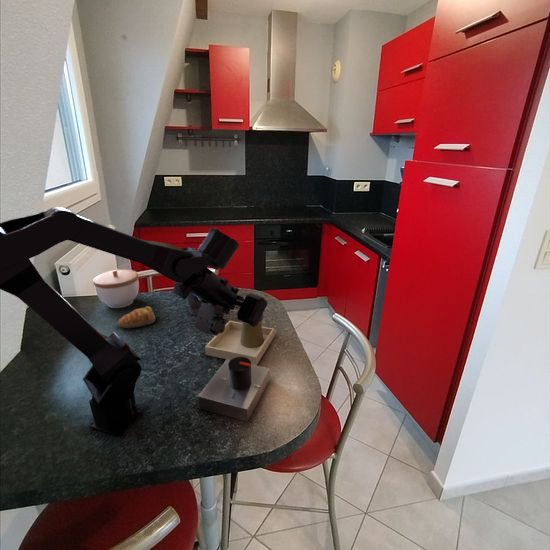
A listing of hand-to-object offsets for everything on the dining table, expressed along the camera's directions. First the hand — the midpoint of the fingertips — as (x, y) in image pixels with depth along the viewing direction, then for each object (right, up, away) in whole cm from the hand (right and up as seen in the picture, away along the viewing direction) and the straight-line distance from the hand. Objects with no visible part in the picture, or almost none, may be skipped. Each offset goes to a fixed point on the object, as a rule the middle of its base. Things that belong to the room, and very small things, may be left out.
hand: (247, 313), depth 77 cm
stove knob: (0, -12, -14) cm, 18 cm away
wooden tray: (-2, -8, +3) cm, 9 cm away
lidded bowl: (-42, 0, +25) cm, 49 cm away
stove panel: (-1, -15, -13) cm, 19 cm away
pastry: (-32, -4, +14) cm, 35 cm away
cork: (+1, -8, +4) cm, 9 cm away
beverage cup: (-17, -2, +20) cm, 26 cm away
